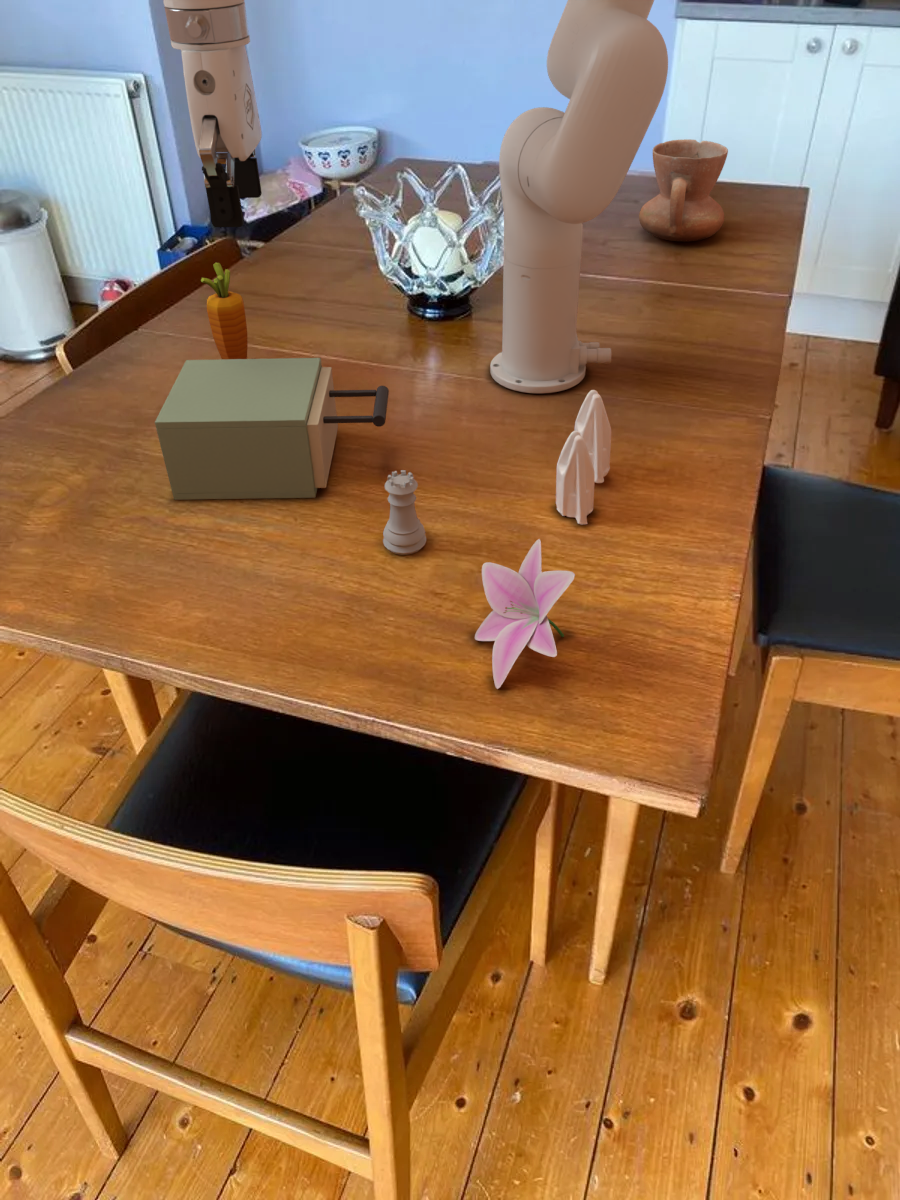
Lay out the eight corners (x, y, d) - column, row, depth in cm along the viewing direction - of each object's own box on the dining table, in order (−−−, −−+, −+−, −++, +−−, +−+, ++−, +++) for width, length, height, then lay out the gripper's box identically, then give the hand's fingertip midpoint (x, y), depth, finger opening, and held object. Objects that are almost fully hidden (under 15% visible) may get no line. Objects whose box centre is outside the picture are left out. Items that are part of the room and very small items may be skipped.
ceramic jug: (649, 215, 172) (659, 132, 163) (729, 224, 168) (743, 138, 159) (624, 248, 160) (633, 159, 151) (709, 258, 155) (724, 167, 146)
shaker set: (578, 462, 107) (584, 372, 100) (614, 468, 106) (623, 378, 99) (548, 518, 98) (553, 425, 91) (586, 526, 97) (595, 432, 90)
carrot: (249, 387, 123) (229, 274, 113) (213, 385, 124) (191, 272, 114) (262, 370, 127) (244, 260, 117) (228, 368, 127) (207, 258, 118)
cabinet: (329, 431, 114) (320, 357, 108) (315, 497, 102) (304, 419, 96) (201, 433, 114) (186, 359, 108) (173, 499, 103) (154, 422, 97)
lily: (489, 600, 90) (445, 547, 83) (607, 572, 85) (571, 513, 78) (489, 714, 83) (441, 667, 76) (616, 690, 79) (578, 638, 72)
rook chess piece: (375, 551, 95) (369, 484, 90) (394, 527, 98) (389, 461, 93) (416, 560, 93) (412, 493, 88) (433, 536, 96) (430, 469, 91)
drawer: (393, 426, 112) (389, 365, 107) (387, 486, 102) (382, 423, 97) (218, 428, 113) (206, 368, 108) (194, 489, 103) (179, 426, 98)
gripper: (227, 42, 83) (257, 238, 94) (263, 11, 96) (286, 186, 107) (144, 44, 83) (183, 239, 94) (191, 13, 97) (221, 187, 107)
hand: (238, 211), depth 101 cm, fingers open, 9 cm apart
